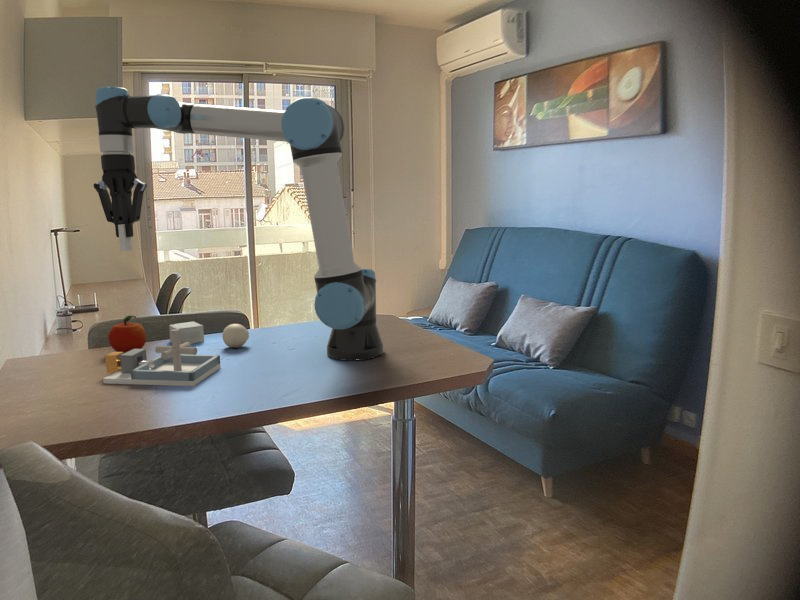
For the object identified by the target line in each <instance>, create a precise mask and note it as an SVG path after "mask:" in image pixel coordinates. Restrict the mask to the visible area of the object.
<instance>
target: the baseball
mask: <svg viewBox="0 0 800 600" xmlns="http://www.w3.org/2000/svg"><path fill="white" fill-rule="evenodd" d="M249 339H250V333H249V330H248V329H247V328H246V327H245V326H244V325H242V324H240V323H230V324H229V325H227V326H226V327H224V329H223V332H222V340H223V343H224V344H225V345H226V346H228V347H229V348H235V349H237V348H240V347H243V346H244V345H245V344H246V343H247V341H248V340H249Z"/></svg>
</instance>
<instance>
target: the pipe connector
mask: <svg viewBox="0 0 800 600" xmlns="http://www.w3.org/2000/svg"><path fill="white" fill-rule="evenodd" d="M171 339H172V342H171V345H156V346H155V348H154V349H155V350H154V352H155V353H156V354H160V355H161V357H162V359H164V360H166V359H169V358H171V357H173V366H174V371H182V365H181V354H186V355H198V348H197V347H195V346H194V347H192V344H190V343H189V342H185V343H183V344H181V345H180V337H179V329H173V330H171Z"/></svg>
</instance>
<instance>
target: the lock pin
mask: <svg viewBox="0 0 800 600" xmlns="http://www.w3.org/2000/svg"><path fill="white" fill-rule="evenodd" d="M122 354H124V352H117V351H112V352H110V353H106V354H105V366H106V367H105V368H106V374H113V373H115V372H117V371H119V370H121V359H120V355H122ZM143 364H149V368H154V367H155V362H154V361H151V360H147V361H137V367H139V366H141V365H143Z"/></svg>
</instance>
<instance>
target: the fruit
mask: <svg viewBox="0 0 800 600" xmlns="http://www.w3.org/2000/svg"><path fill="white" fill-rule="evenodd" d="M133 318H134V319H136V318H137V316H135V315H127V316H125V317H124V318H123V322H120V323H117V324H114V325H113V326H112V327H111V329H110V330H109V333H108V343H109V345H110V346H111V348H112V349H113V350H114V352H124V353H126V352H128V351H130V350H133V349H143V347H144V346H145V345H146V341H147V334H146V330H145V328H144V326H143V325H141V323H137V322H129V321H130V320H131V319H133Z"/></svg>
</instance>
